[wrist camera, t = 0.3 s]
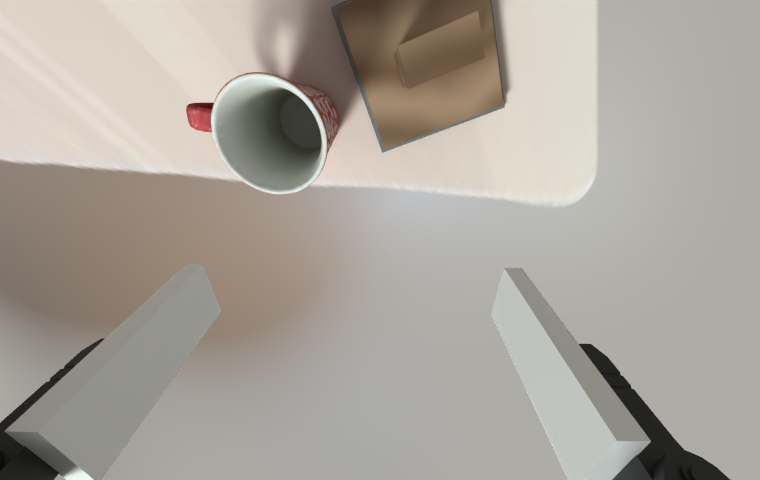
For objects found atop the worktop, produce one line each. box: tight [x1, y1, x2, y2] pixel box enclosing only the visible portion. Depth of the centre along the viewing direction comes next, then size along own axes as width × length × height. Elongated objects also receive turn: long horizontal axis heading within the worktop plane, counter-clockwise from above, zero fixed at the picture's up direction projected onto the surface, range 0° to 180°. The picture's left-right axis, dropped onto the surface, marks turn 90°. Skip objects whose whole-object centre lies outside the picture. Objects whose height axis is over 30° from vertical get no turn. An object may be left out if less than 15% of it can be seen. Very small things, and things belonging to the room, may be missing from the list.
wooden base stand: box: [337, 0, 504, 149], centre depth 25 cm, size 14×14×10 cm
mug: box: [186, 72, 338, 194], centre depth 27 cm, size 13×9×14 cm
